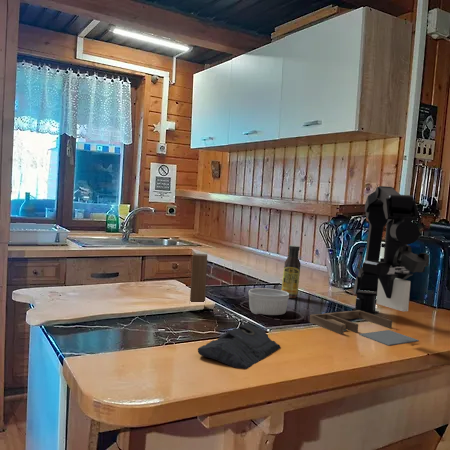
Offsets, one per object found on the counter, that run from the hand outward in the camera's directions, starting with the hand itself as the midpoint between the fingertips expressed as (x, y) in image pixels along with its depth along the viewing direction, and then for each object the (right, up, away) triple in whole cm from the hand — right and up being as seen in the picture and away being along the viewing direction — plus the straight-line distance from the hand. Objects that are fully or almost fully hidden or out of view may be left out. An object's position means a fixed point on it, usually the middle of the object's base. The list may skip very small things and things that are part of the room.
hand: (391, 297), depth 126 cm
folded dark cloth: (-42, -11, -15) cm, 46 cm away
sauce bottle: (-21, -8, +51) cm, 56 cm away
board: (0, -3, 0) cm, 3 cm away
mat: (-1, -12, +1) cm, 12 cm away
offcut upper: (-14, -10, +8) cm, 18 cm away
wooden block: (-54, -7, +24) cm, 60 cm away
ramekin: (-32, -9, +24) cm, 41 cm away
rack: (-8, -11, +11) cm, 18 cm away
